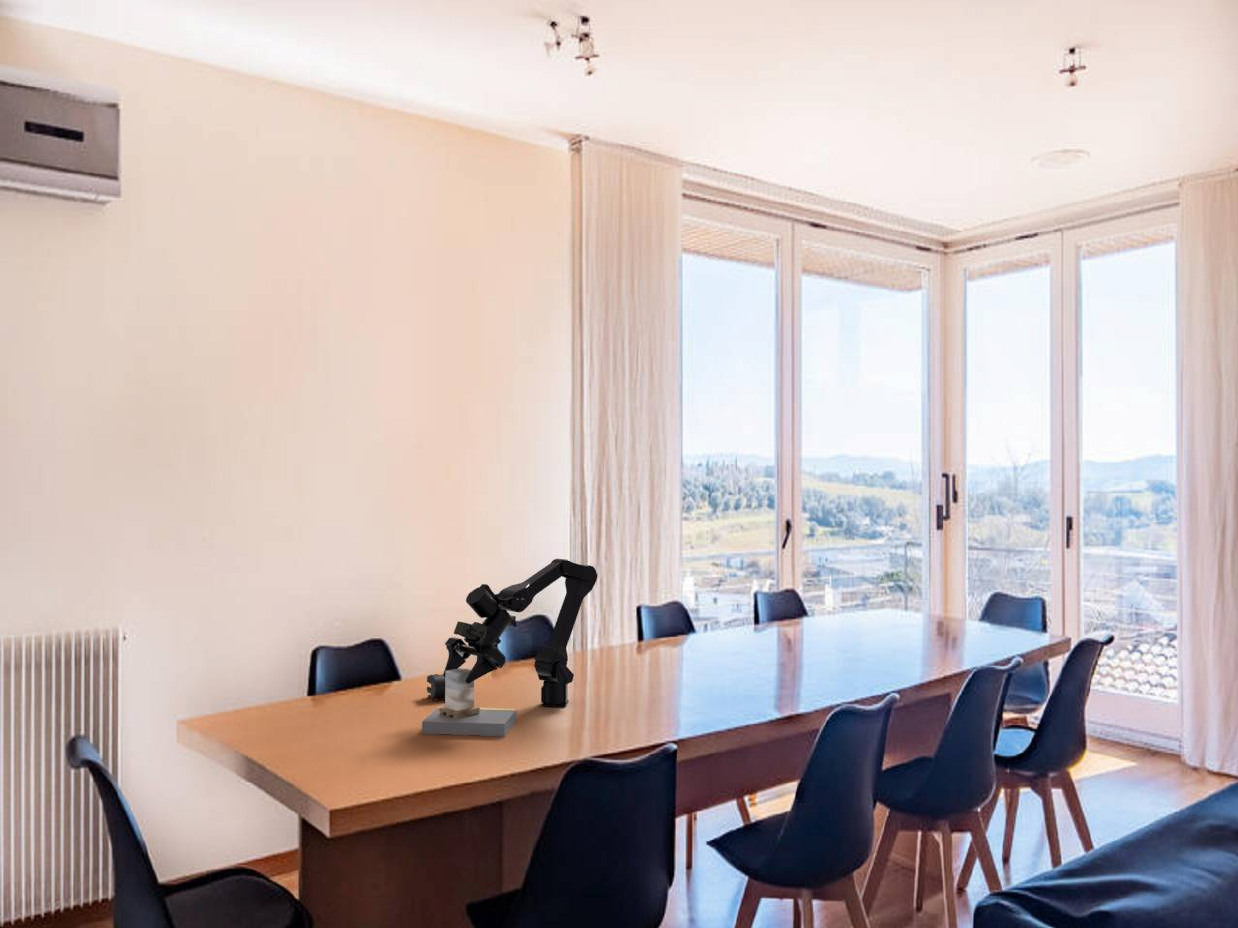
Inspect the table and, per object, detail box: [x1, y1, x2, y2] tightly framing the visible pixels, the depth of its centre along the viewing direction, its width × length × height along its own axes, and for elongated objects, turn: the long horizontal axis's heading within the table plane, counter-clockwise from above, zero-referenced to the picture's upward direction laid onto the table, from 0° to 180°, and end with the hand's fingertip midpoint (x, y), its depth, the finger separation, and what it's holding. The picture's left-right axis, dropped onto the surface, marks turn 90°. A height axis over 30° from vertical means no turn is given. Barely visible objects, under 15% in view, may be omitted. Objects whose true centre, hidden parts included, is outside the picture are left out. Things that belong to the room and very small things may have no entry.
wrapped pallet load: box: [438, 667, 481, 719], centre depth 229 cm, size 7×7×10 cm
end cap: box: [426, 673, 445, 701], centre depth 259 cm, size 10×7×7 cm
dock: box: [421, 706, 517, 738], centre depth 228 cm, size 20×14×3 cm
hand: (455, 679), depth 228 cm, fingers open, 9 cm apart
